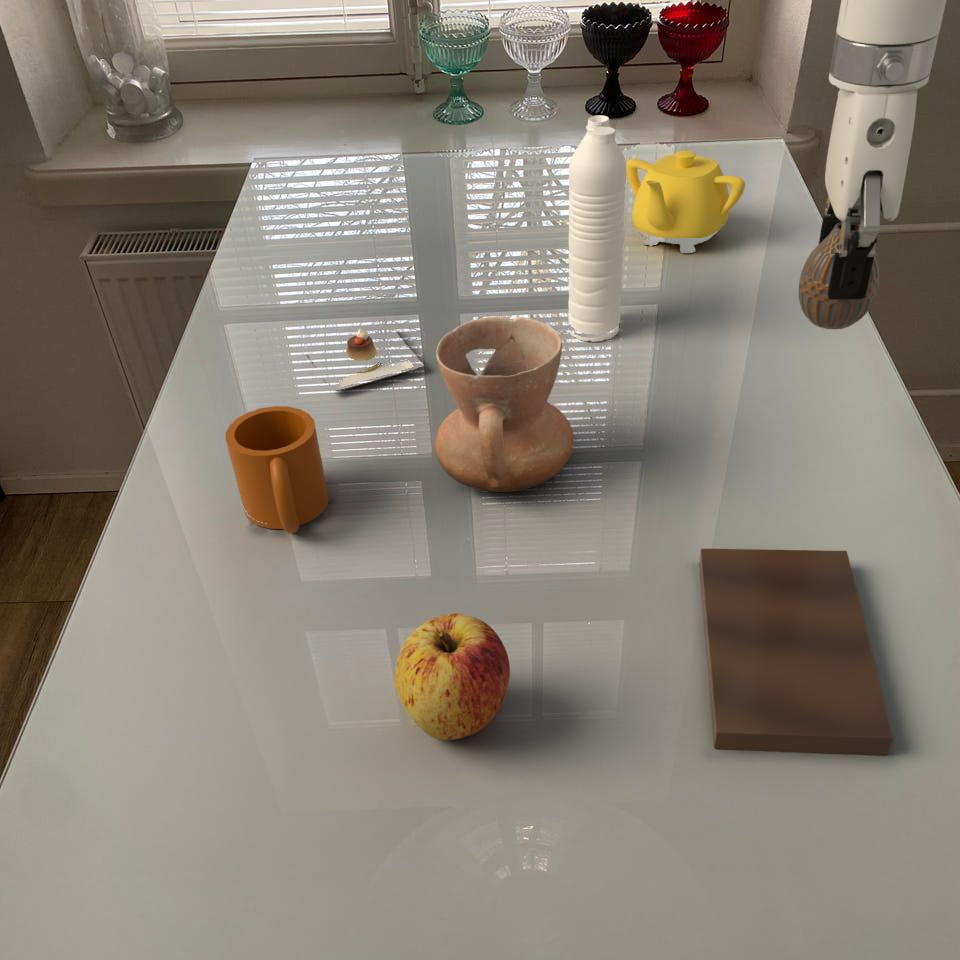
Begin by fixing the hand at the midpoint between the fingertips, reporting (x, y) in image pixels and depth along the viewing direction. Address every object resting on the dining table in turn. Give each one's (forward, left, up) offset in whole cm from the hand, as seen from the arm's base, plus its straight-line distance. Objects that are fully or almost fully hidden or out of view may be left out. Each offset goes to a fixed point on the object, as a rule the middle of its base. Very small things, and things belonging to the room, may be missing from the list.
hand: (839, 276), depth 90 cm
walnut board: (+5, +29, -19) cm, 35 cm away
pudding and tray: (+51, -19, -20) cm, 58 cm away
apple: (+32, +38, -20) cm, 53 cm away
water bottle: (+22, -26, -20) cm, 40 cm away
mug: (+53, +11, -20) cm, 58 cm away
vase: (0, 0, -4) cm, 4 cm away
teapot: (+12, -52, -20) cm, 57 cm away
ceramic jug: (+31, +3, -20) cm, 37 cm away
